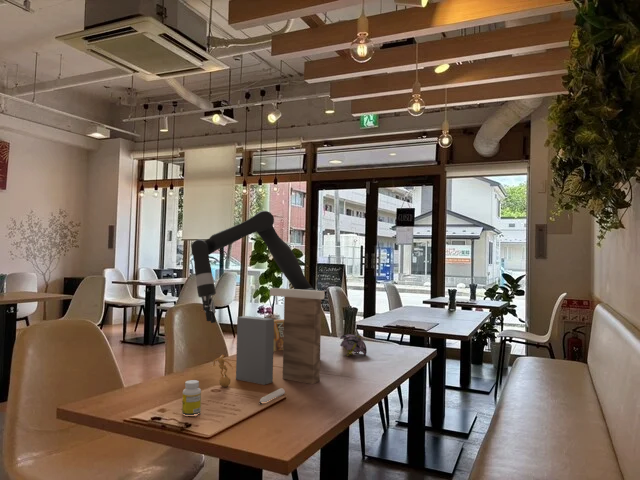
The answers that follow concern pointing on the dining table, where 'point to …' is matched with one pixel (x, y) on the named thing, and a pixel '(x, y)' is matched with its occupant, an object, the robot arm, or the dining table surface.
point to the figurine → (225, 379)
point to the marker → (272, 395)
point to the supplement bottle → (191, 398)
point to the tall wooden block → (302, 339)
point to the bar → (297, 293)
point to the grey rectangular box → (255, 349)
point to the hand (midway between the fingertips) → (211, 321)
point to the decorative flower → (353, 344)
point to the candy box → (278, 334)
